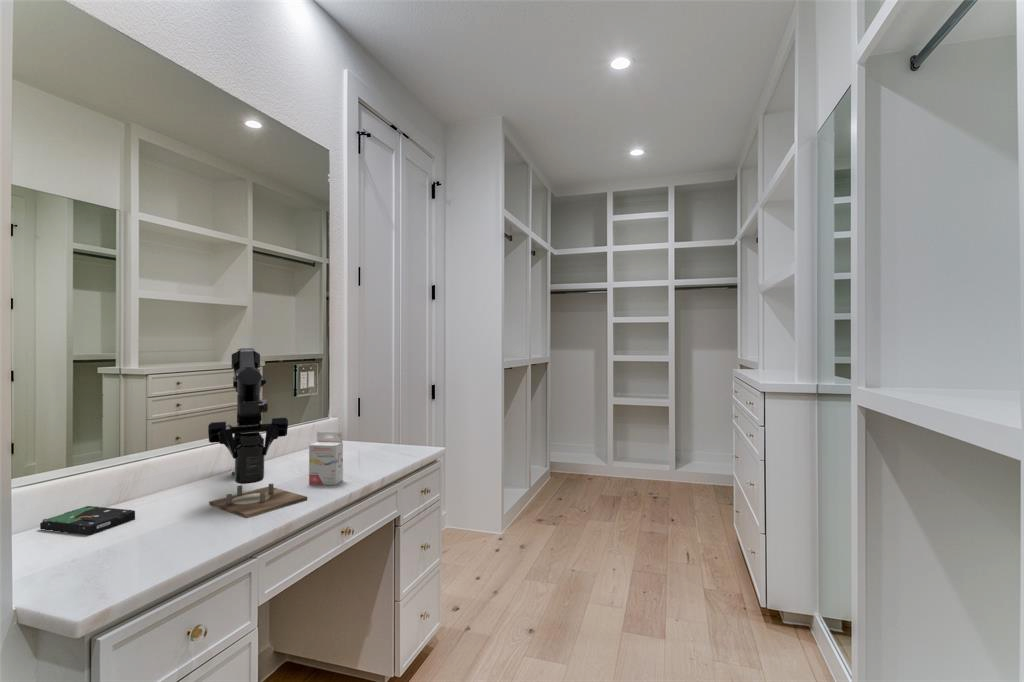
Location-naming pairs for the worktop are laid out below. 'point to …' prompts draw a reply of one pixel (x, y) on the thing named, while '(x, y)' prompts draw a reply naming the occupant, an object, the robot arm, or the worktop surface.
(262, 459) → the supplement bottle
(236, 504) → the plate
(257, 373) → the robot arm
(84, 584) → the worktop surface
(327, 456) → the ink cartridge box
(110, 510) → the disk drive
